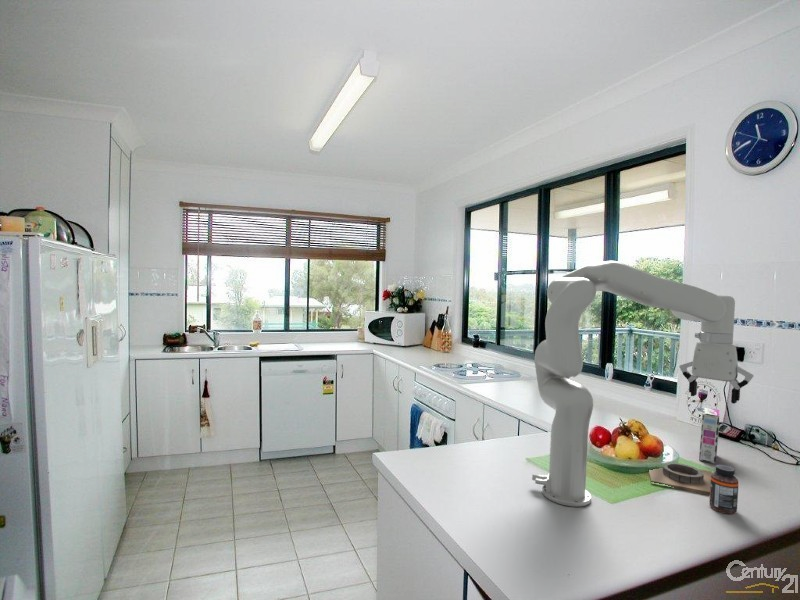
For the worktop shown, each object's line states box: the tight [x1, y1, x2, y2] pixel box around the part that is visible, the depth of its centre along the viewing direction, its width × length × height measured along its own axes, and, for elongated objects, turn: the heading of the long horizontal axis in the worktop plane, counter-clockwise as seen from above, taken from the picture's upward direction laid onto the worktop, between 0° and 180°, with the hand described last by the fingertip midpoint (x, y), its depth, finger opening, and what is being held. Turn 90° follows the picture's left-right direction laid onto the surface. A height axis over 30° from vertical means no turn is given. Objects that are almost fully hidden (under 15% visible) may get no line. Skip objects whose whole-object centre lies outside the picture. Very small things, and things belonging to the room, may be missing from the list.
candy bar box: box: [698, 407, 720, 464], centre depth 155 cm, size 11×5×16 cm, turn 145°
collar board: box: [648, 462, 713, 496], centre depth 136 cm, size 18×18×3 cm
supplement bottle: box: [708, 464, 739, 515], centre depth 117 cm, size 6×6×11 cm
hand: (713, 399), depth 126 cm, fingers open, 9 cm apart
